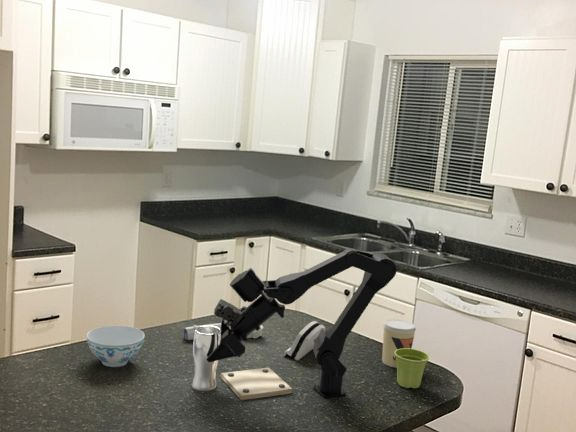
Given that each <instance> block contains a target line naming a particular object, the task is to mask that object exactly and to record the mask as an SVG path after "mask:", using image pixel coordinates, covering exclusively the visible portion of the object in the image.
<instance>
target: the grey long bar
mask: <svg viewBox="0 0 576 432" xmlns="http://www.w3.org/2000/svg"><path fill="white" fill-rule="evenodd" d="M199 326H215V327H218V328H221V322H219V323H218V322H216V323H208V324H201V325H200V324H199V325H196V324H193V326H188V327H187V326H186V327H183V330H182V334H183V339H184V340H185V341H186V342H187V341H194V335H195V329H196V328H197V327H199ZM263 330H264V326H263V324H262V325H261V326H260V329H259V330H258V331H257V330H254V331H253V332H252V333H251V334H250V335H248V339H251V338H253V339H258V338H259V337H262V336H263Z"/></svg>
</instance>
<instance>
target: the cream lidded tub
mask: <svg viewBox="0 0 576 432" xmlns="http://www.w3.org/2000/svg"><path fill="white" fill-rule="evenodd" d="M415 332H416V326H415V324H413V323H412V322H409V321H407V320H402V319H387V320H386V321H384V323H383V337H382V355H381V356H382V358H381V359H382V360H381V361H382V363H383V364H384V365H386V366H388V367H391V368H395V369H397V360H396V355H395V351H396V350H397V349H402V348H409V349H413V345H414V339H415V334H416V333H415Z"/></svg>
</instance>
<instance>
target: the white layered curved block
mask: <svg viewBox="0 0 576 432" xmlns="http://www.w3.org/2000/svg"><path fill="white" fill-rule="evenodd" d="M321 329H323V330H325V331H326V326H324V325H323V324H320V323H319V322H318V321H316V320H315V321H314V320H313V321H311V322H309V323H308V324H307V325H305V326H304V327H303V328H302V329H301V330H300V331H299V333H298V334H297V335H296V337H295V339H294V341H293V343H292V345H291V346H290V347H289V348H287V350H285V351H284V353H283V355H282V357H284V358H285V357H286V356H287V355H288V356H290V357H293V358H294V360H295V361H300V360H301V359H302V358H303V357H304V356H306V355H307V354H308V353H310V351H312V350H313V346H314V344H315V343H314V340H315V339H316V338H317V337H318V335H319V333H320V331H321Z"/></svg>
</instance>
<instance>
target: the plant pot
mask: <svg viewBox="0 0 576 432" xmlns="http://www.w3.org/2000/svg"><path fill="white" fill-rule="evenodd" d="M395 355H396V360H397V368H396V376H397V377H396V382H397V384H398V386H400V387H402V388H406V389H410V388H412V389H418V388H419V387H420V386H421V383H422V380H423V375H424V371H425V368H426V365H427V364H428V361H429V360H430V355H429V354H428V353H426V352H425V351H422V350H419V349H416V348H412V349H409V348H402V349H397V350H396V351H395Z"/></svg>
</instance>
